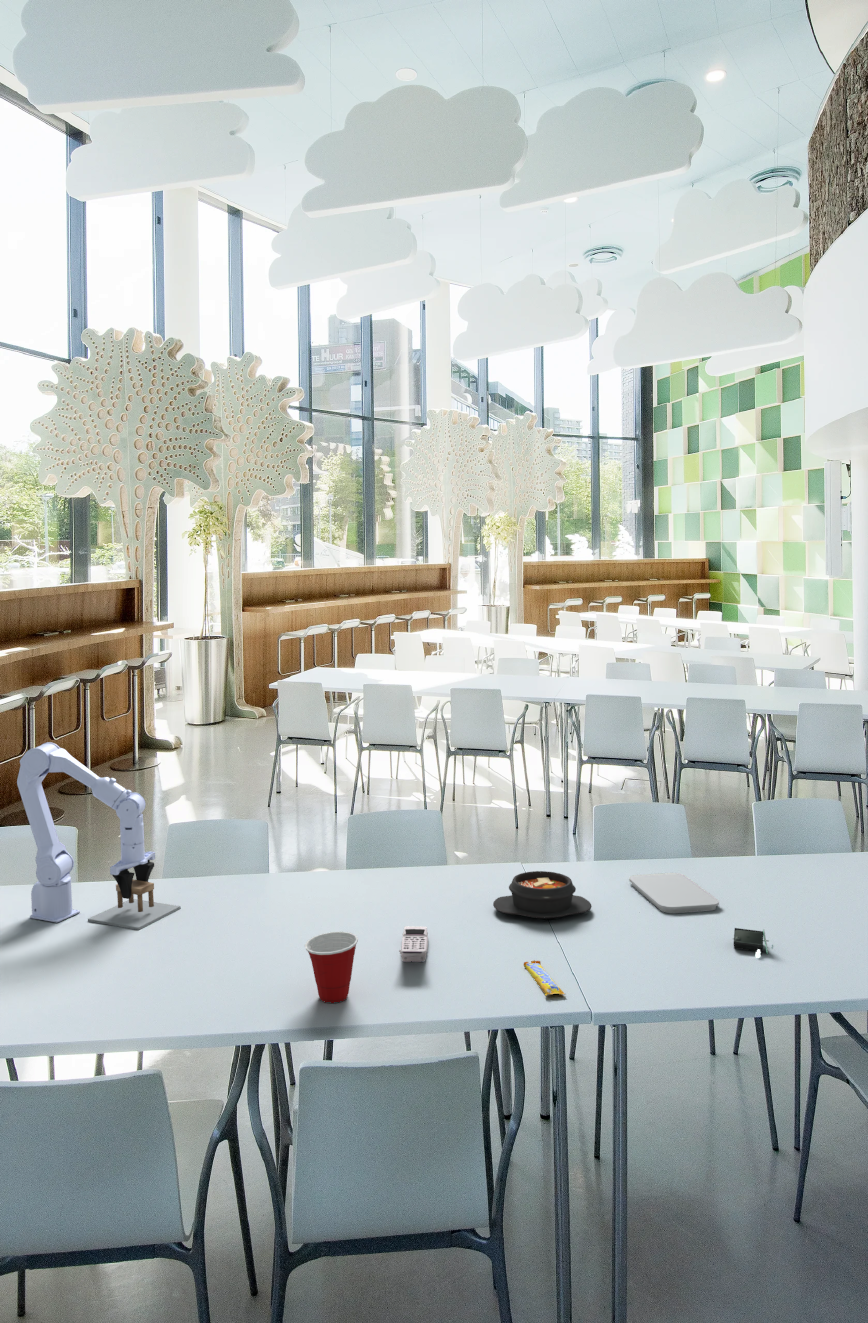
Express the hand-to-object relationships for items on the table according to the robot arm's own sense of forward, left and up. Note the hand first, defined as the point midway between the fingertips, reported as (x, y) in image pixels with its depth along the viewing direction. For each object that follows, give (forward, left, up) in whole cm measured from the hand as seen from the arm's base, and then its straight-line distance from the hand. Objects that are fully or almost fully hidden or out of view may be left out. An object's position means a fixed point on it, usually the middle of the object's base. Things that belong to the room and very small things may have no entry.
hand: (134, 894), depth 235 cm
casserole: (+96, +40, -6) cm, 104 cm away
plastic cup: (+70, -23, -6) cm, 74 cm away
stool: (0, 0, -3) cm, 3 cm away
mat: (0, 0, -5) cm, 5 cm away
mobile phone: (+76, +4, -6) cm, 77 cm away
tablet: (+125, +64, -6) cm, 141 cm away
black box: (+146, +35, -6) cm, 150 cm away
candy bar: (+108, 0, -6) cm, 108 cm away
